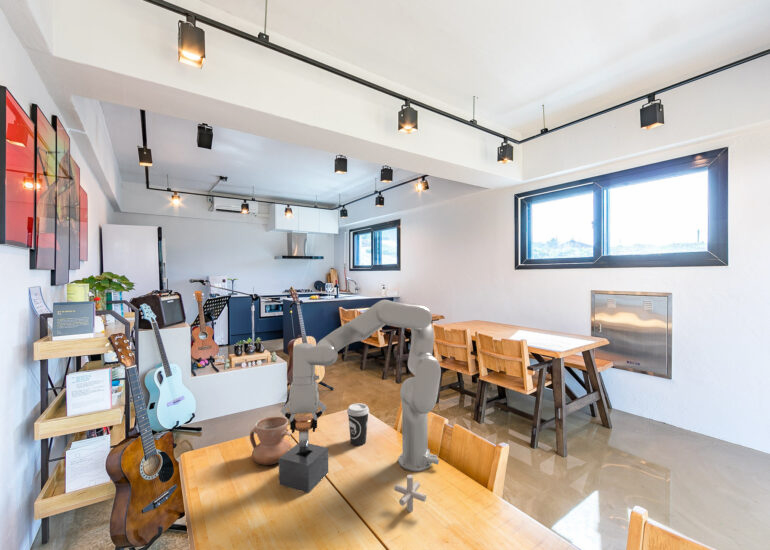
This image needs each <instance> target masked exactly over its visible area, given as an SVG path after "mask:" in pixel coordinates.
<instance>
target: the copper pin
mask: <svg viewBox="0 0 770 550" xmlns="http://www.w3.org/2000/svg"><path fill="white" fill-rule="evenodd" d="M294 429H295V431H297V432H298V443H299V451H300V452H307V451H308V450H309V444H310V443H309V440H310V439H309V431H310V430H313V416H310V415H309V416H308V415H303V416H298V417H296V418H295V421H294Z"/></svg>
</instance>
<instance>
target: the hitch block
mask: <svg viewBox="0 0 770 550" xmlns="http://www.w3.org/2000/svg"><path fill="white" fill-rule="evenodd" d="M327 473H328V474H329V447H326V446H322V445H321V446H320V445H317V444H314V443H309V450H308V451H307V452H300V451H299V442H298V443H297V444H296V445H294V446H292V447H291V449H290V450H289V451H288V452H286V453H285V454H284V455H282V456H281V457H280V458H279V463H278V485H279V486H282V487H286V488H290V489H293V490H296V491H301V492H304V493H306V494H310V492H312V491H313V490H314V488H315V487H316V486H318V484H319V483H320V482H321V481H322V480H323V479H324V478H325V477H326V476H327V475H328V474H327ZM326 474H327V475H326ZM324 476H325V477H324ZM323 477H324V478H323ZM321 479H322V480H321Z"/></svg>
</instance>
